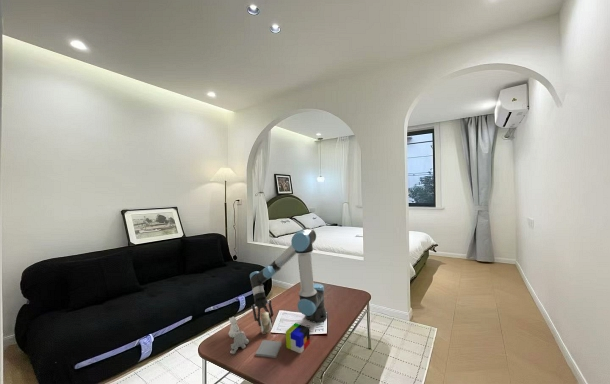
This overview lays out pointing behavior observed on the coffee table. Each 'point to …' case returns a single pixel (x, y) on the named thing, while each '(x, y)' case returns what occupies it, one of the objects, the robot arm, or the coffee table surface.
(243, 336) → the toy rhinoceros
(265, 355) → the board
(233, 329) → the sitting furry creature
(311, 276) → the robot arm
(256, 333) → the coffee table surface
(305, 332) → the puzzle toy
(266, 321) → the birch tool handle
